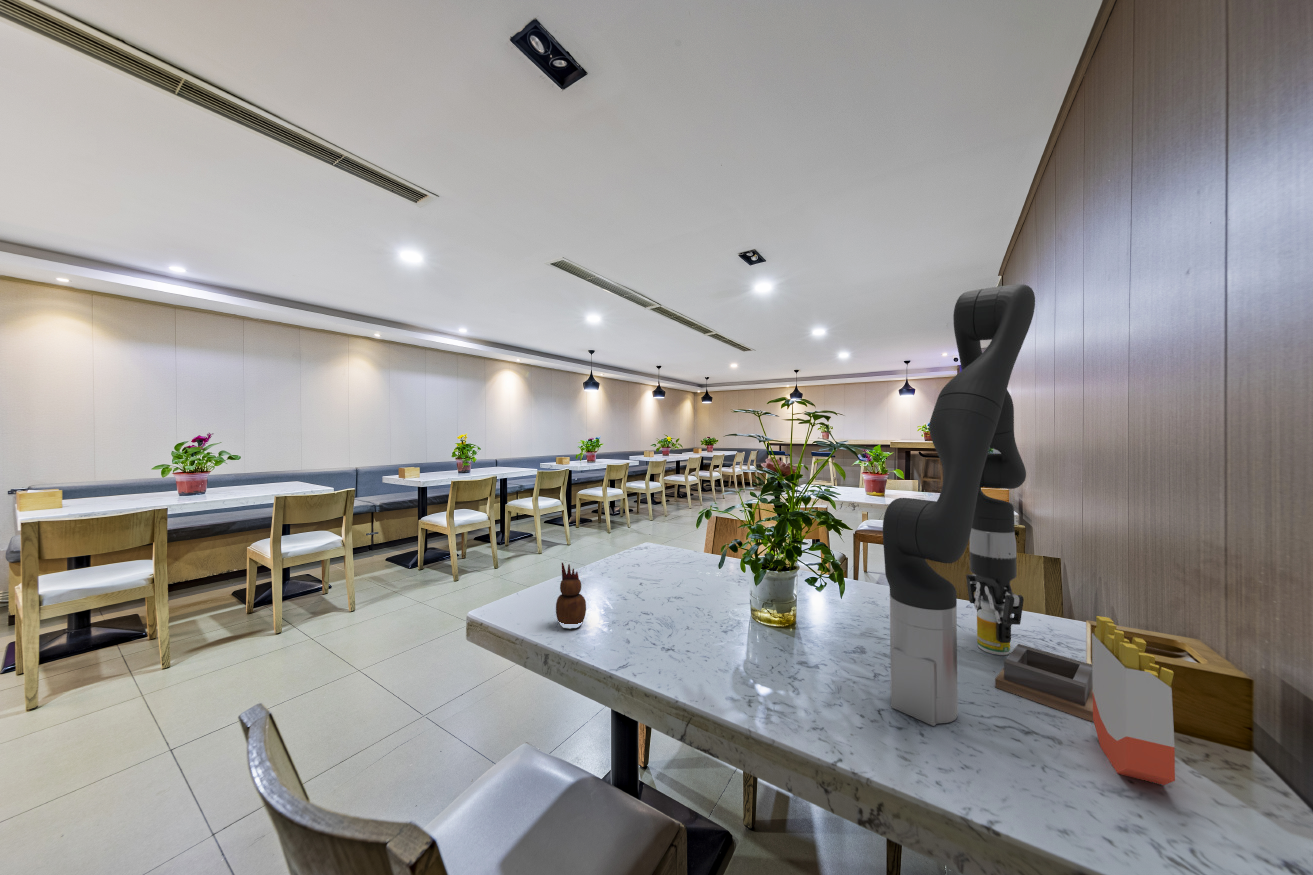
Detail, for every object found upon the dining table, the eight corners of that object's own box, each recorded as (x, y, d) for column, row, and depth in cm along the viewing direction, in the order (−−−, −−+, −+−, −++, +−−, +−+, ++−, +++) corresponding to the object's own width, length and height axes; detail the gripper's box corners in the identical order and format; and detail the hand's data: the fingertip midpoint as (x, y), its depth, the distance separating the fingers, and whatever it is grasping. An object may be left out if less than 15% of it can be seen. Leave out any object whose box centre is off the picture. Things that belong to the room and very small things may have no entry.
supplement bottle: (980, 640, 92) (979, 595, 92) (1012, 649, 89) (1012, 602, 89) (974, 649, 89) (974, 602, 89) (1008, 658, 85) (1007, 609, 85)
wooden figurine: (551, 630, 100) (551, 564, 100) (564, 619, 106) (563, 557, 106) (578, 633, 98) (577, 566, 98) (589, 622, 104) (589, 559, 104)
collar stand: (1093, 721, 66) (1092, 692, 66) (995, 687, 75) (995, 661, 75) (1103, 691, 74) (1102, 665, 74) (1013, 663, 83) (1012, 640, 83)
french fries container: (1136, 745, 61) (1135, 616, 61) (1180, 802, 52) (1178, 650, 52) (1092, 734, 63) (1090, 610, 63) (1125, 787, 54) (1124, 642, 54)
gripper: (1039, 562, 81) (1040, 653, 81) (988, 543, 95) (989, 620, 95) (996, 561, 82) (997, 651, 82) (952, 542, 96) (953, 619, 96)
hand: (993, 634), depth 89 cm, fingers closed on supplement bottle, 5 cm apart
